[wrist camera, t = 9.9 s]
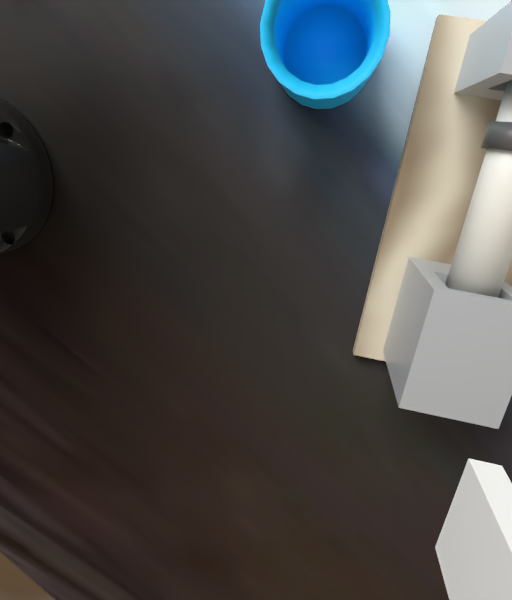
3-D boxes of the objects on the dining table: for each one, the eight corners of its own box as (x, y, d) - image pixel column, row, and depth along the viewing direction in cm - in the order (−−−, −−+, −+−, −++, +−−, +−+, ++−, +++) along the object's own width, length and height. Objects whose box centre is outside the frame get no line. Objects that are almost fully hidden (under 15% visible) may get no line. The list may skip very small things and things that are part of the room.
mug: (394, 74, 37) (412, 54, 29) (302, 128, 39) (296, 123, 31) (325, -80, 34) (325, -147, 26) (231, -13, 36) (206, -56, 29)
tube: (486, 302, 36) (507, 322, 32) (429, 291, 36) (442, 310, 32) (574, 49, 30) (613, 33, 26) (504, 39, 30) (532, 22, 26)
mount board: (352, 350, 44) (353, 354, 43) (436, 18, 35) (439, 14, 34) (481, 376, 43) (484, 381, 42) (601, 41, 34) (609, 38, 33)
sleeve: (460, 366, 42) (498, 429, 33) (382, 350, 43) (398, 407, 33) (492, 272, 39) (544, 310, 30) (408, 256, 40) (434, 289, 30)
